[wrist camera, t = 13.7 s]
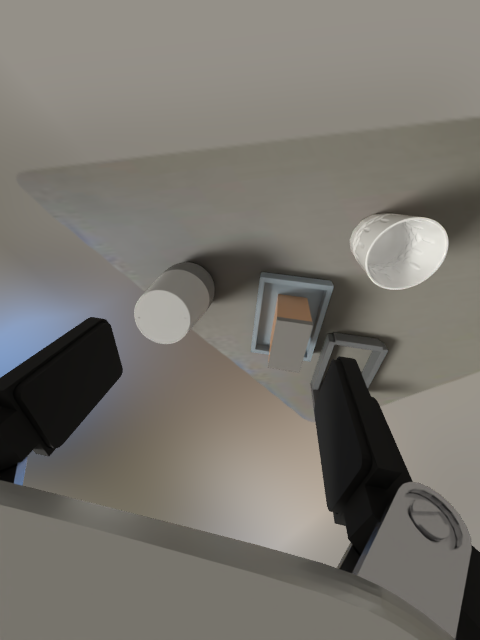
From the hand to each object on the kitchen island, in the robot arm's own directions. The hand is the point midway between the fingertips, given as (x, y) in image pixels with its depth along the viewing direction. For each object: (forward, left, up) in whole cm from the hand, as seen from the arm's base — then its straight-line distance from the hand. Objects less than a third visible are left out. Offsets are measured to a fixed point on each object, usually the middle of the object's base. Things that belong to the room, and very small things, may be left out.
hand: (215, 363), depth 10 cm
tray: (-6, +14, -30) cm, 34 cm away
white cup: (-16, -1, -31) cm, 34 cm away
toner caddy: (-6, +14, -30) cm, 33 cm away
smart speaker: (+12, +10, -31) cm, 34 cm away
